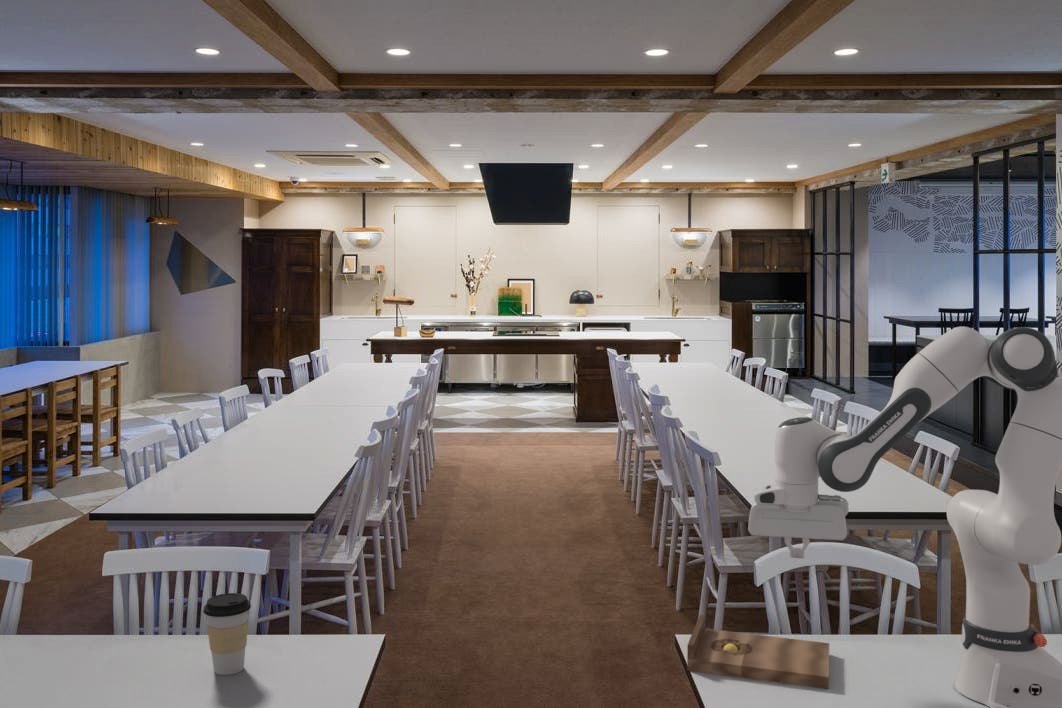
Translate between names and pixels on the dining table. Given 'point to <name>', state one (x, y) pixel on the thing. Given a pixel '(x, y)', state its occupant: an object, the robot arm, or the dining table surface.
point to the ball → (730, 647)
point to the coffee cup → (227, 631)
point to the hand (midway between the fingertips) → (797, 557)
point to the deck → (758, 657)
